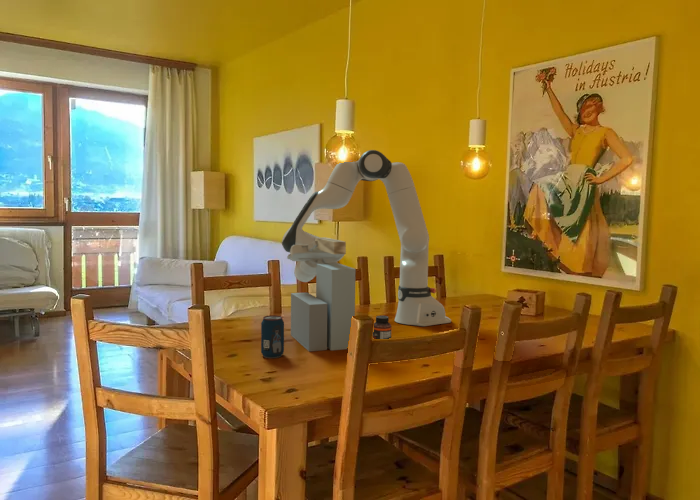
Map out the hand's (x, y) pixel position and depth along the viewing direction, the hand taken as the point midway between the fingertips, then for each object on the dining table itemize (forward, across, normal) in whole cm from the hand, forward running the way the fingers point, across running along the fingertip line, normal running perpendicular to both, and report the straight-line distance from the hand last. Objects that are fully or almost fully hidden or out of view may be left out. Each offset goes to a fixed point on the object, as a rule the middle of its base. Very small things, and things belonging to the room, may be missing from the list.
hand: (323, 242), depth 195 cm
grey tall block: (-6, 0, +35) cm, 35 cm away
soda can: (+1, -23, +39) cm, 45 cm away
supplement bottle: (+6, +10, +42) cm, 44 cm away
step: (-9, -8, +33) cm, 35 cm away
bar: (+5, 0, +6) cm, 7 cm away
